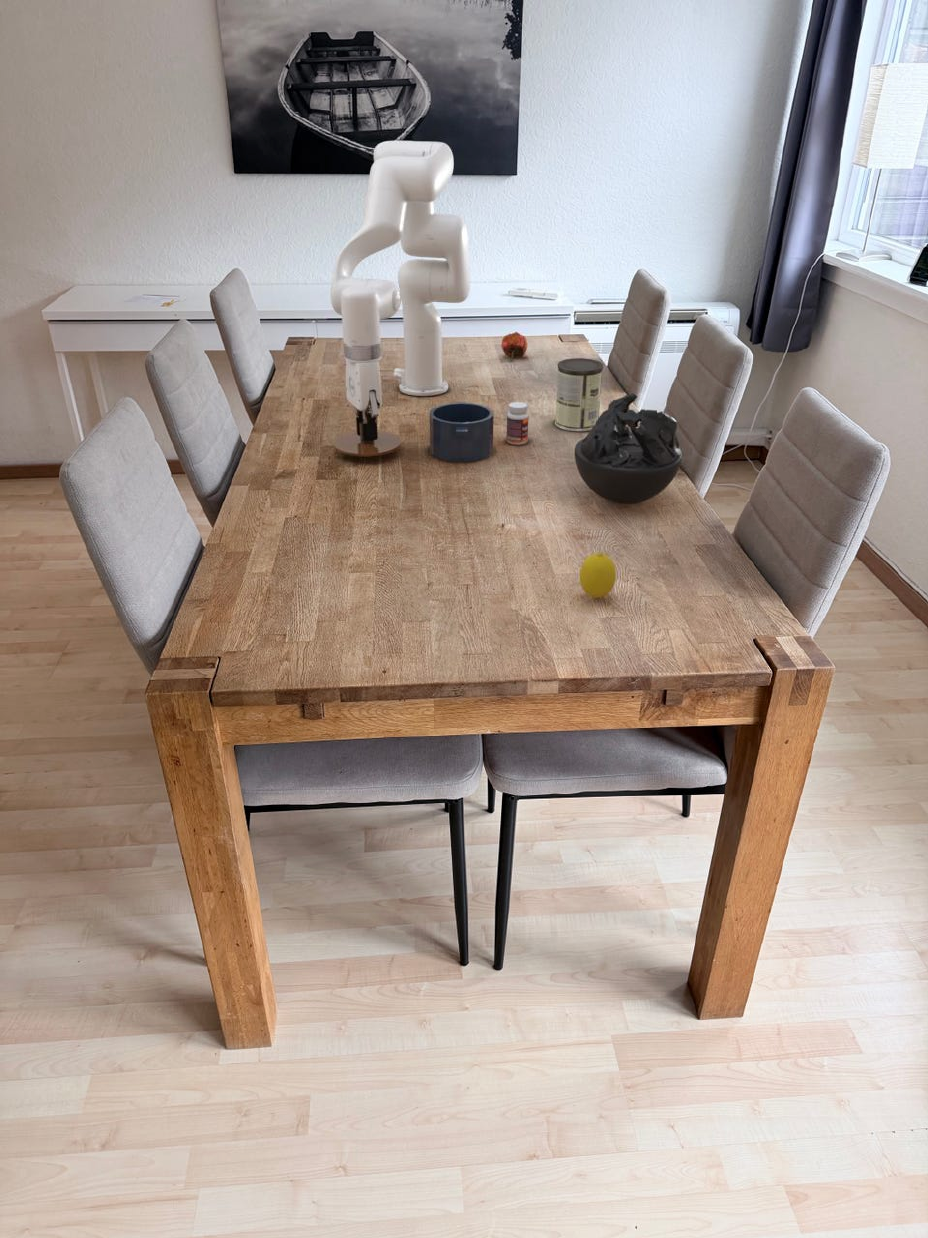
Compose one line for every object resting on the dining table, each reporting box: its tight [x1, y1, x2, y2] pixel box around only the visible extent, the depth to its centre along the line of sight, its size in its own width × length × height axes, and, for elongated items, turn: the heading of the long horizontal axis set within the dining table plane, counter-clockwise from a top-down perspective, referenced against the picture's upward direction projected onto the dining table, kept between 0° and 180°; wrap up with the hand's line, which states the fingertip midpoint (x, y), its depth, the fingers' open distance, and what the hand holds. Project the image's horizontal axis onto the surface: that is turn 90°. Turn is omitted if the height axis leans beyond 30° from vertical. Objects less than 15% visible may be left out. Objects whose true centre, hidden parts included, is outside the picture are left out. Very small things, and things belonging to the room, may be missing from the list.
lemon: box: [579, 552, 617, 599], centre depth 140 cm, size 6×6×8 cm
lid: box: [332, 421, 402, 457], centre depth 194 cm, size 15×15×5 cm
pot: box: [429, 401, 495, 463], centre depth 195 cm, size 14×19×8 cm
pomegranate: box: [500, 331, 528, 362], centre depth 257 cm, size 7×7×10 cm
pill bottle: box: [505, 401, 530, 446], centre depth 199 cm, size 5×5×8 cm
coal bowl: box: [574, 393, 683, 505], centre depth 170 cm, size 20×20×19 cm
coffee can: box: [554, 357, 604, 432], centre depth 208 cm, size 10×10×14 cm
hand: (367, 436), depth 194 cm, fingers closed on lid, 3 cm apart
